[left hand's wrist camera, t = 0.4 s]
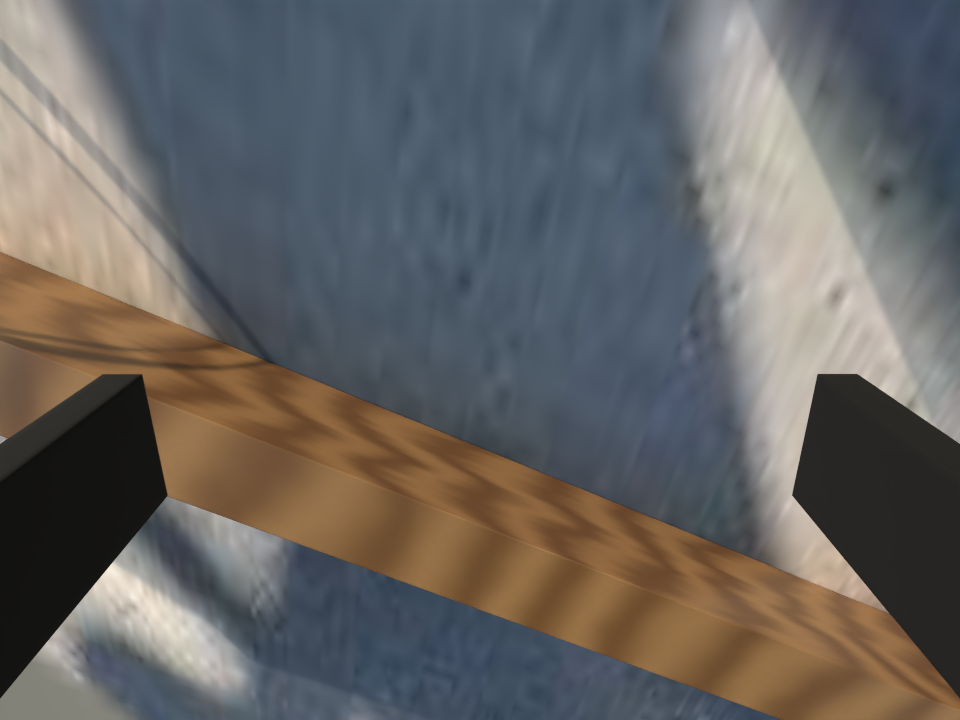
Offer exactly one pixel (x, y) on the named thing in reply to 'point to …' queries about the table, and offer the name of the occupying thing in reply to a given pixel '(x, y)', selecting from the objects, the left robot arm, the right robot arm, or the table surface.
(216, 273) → the table surface
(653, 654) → the beam
